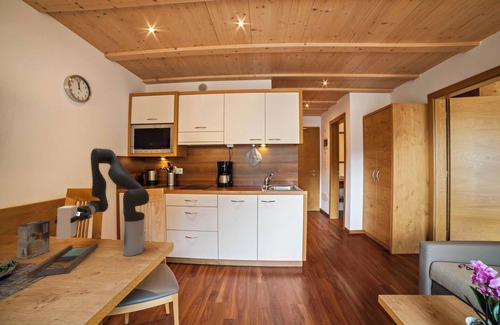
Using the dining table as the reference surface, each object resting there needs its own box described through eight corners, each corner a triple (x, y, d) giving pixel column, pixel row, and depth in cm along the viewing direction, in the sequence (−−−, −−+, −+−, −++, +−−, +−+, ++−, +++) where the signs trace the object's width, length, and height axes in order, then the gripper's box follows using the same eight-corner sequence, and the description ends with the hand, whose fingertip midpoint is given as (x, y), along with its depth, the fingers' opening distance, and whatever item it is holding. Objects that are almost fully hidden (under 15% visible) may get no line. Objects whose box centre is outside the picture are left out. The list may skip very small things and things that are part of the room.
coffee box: (40, 250, 101) (41, 219, 102) (49, 251, 100) (50, 220, 100) (16, 258, 92) (17, 224, 93) (25, 259, 91) (27, 225, 91)
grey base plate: (84, 255, 96) (84, 254, 96) (63, 273, 80) (63, 272, 80) (60, 258, 93) (60, 257, 93) (32, 277, 77) (32, 276, 77)
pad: (94, 247, 105) (94, 246, 105) (85, 255, 96) (85, 254, 96) (72, 249, 102) (72, 248, 102) (61, 257, 93) (61, 256, 93)
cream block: (76, 234, 92) (77, 205, 93) (69, 238, 88) (71, 207, 88) (63, 235, 91) (64, 205, 91) (56, 239, 86) (57, 208, 86)
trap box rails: (98, 247, 106) (98, 242, 106) (68, 273, 80) (68, 267, 80) (68, 249, 102) (68, 245, 102) (27, 278, 76) (27, 271, 76)
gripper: (67, 206, 101) (43, 213, 85) (99, 204, 105) (83, 212, 89) (66, 220, 101) (43, 230, 85) (99, 218, 105) (82, 228, 89)
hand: (63, 221), depth 87 cm, fingers closed on cream block, 5 cm apart
